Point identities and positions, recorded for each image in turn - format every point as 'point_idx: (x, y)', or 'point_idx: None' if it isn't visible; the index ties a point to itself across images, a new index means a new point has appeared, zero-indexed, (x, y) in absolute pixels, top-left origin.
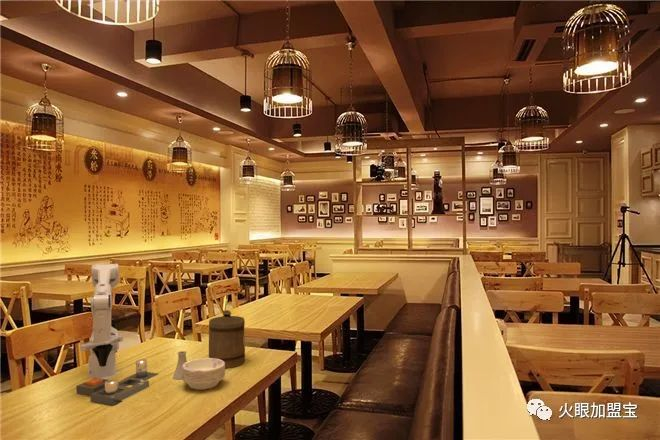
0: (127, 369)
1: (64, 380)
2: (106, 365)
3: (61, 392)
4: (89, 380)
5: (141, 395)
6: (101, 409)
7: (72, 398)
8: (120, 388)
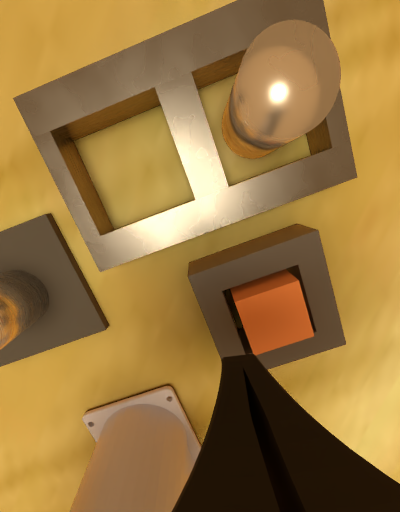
0: (44, 438)
1: None
2: (142, 464)
3: (346, 383)
4: (294, 337)
5: (119, 30)
6: (358, 13)
7: (357, 286)
8: (204, 119)
